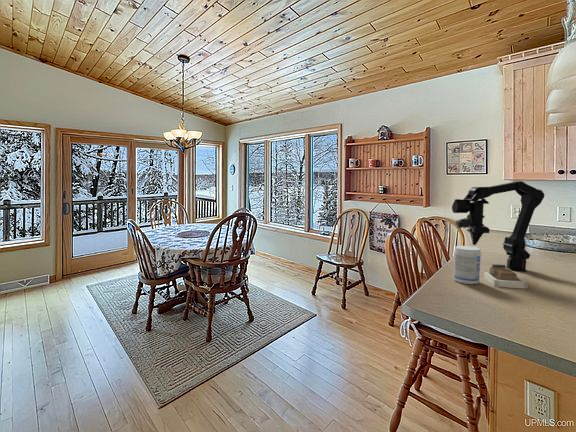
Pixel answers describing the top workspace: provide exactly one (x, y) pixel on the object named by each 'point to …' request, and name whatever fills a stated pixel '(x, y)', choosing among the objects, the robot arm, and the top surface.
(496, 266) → the block
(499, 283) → the bay
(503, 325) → the top surface
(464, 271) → the supplement tub
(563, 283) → the top surface
